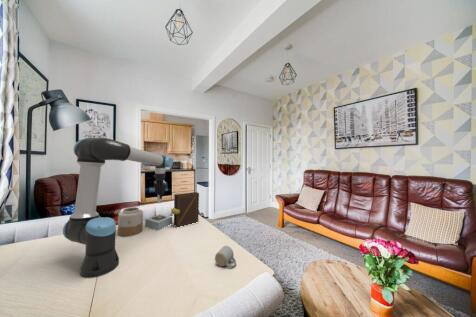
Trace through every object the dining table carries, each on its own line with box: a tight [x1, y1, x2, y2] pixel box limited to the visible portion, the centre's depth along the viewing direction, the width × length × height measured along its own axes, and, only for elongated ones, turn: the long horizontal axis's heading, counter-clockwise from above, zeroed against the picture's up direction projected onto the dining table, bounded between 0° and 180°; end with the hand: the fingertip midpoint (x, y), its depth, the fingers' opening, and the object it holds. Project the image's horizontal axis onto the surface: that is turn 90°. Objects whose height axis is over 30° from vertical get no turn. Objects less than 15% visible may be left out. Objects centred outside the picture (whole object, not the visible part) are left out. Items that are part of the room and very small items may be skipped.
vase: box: [117, 206, 144, 238], centre depth 129 cm, size 15×15×17 cm
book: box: [171, 191, 200, 228], centre depth 146 cm, size 22×8×25 cm, turn 130°
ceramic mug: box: [214, 245, 237, 269], centre depth 94 cm, size 11×8×8 cm
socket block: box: [144, 214, 173, 231], centre depth 142 cm, size 14×14×7 cm
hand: (159, 202), depth 142 cm, fingers closed
